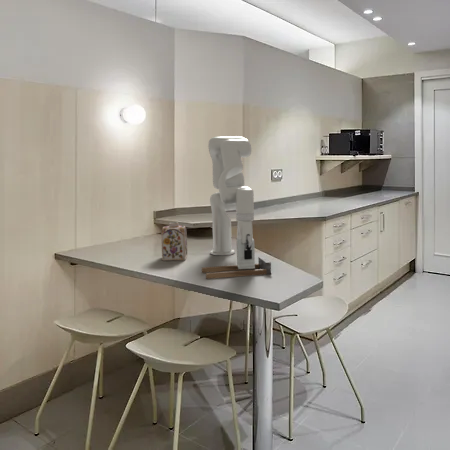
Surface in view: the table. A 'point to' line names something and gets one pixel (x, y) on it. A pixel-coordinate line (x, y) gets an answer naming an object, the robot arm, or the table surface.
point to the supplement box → (240, 256)
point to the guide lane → (261, 269)
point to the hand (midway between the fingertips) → (245, 256)
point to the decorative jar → (174, 242)
